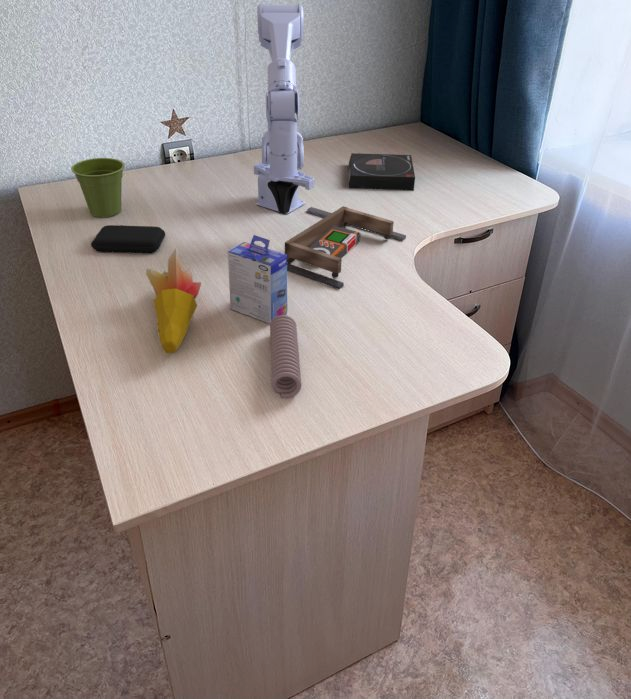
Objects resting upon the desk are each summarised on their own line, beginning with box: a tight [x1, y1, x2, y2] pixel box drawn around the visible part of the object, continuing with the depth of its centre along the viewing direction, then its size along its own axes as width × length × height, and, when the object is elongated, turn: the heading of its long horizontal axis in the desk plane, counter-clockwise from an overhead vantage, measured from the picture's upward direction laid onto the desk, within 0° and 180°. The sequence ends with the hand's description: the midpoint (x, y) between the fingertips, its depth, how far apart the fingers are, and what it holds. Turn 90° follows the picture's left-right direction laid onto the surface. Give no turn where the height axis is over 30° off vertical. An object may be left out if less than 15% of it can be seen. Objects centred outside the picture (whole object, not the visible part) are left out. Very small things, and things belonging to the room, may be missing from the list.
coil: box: [269, 314, 302, 399], centre depth 110 cm, size 5×5×18 cm
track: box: [287, 206, 407, 290], centre depth 146 cm, size 26×28×1 cm
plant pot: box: [70, 157, 125, 218], centre depth 156 cm, size 12×12×11 cm
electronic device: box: [309, 226, 361, 267], centre depth 144 cm, size 7×3×15 cm
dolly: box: [284, 206, 394, 279], centre depth 143 cm, size 13×23×4 cm, turn 145°
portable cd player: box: [347, 152, 416, 192], centre depth 178 cm, size 16×17×4 cm
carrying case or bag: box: [90, 224, 166, 254], centre depth 146 cm, size 11×3×15 cm
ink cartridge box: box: [227, 234, 288, 324], centre depth 120 cm, size 10×6×14 cm, turn 58°
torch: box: [145, 247, 202, 354], centre depth 119 cm, size 8×8×25 cm
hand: (284, 212), depth 145 cm, fingers closed
